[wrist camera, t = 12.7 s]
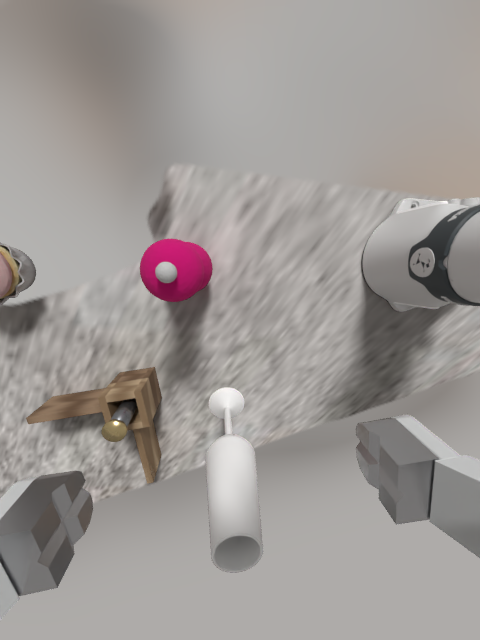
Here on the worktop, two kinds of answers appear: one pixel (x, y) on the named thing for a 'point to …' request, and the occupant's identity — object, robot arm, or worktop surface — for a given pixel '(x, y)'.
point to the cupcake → (14, 272)
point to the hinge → (107, 402)
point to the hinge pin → (119, 421)
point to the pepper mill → (175, 269)
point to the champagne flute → (232, 491)
